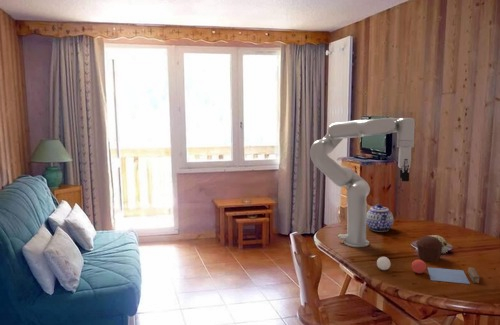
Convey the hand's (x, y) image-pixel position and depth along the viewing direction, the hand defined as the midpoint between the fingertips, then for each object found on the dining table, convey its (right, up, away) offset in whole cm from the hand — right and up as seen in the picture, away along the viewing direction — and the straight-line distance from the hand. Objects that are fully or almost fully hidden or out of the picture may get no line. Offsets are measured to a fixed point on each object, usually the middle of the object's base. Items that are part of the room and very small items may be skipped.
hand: (404, 179), depth 199 cm
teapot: (0, -30, +39) cm, 49 cm away
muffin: (+8, -36, -8) cm, 38 cm away
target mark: (+7, -38, -29) cm, 48 cm away
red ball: (-4, -35, -26) cm, 44 cm away
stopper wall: (+16, -38, -32) cm, 52 cm away
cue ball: (-17, -35, -22) cm, 44 cm away
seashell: (+16, -35, +3) cm, 38 cm away
